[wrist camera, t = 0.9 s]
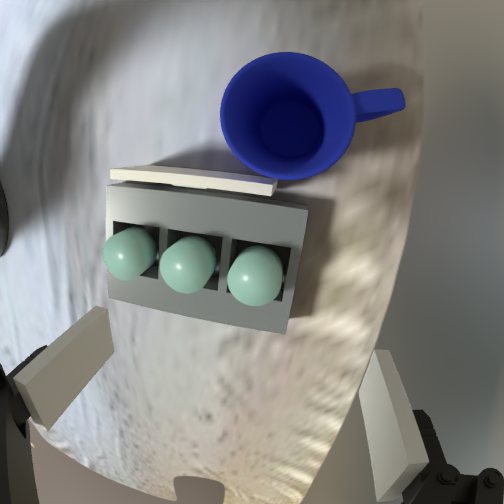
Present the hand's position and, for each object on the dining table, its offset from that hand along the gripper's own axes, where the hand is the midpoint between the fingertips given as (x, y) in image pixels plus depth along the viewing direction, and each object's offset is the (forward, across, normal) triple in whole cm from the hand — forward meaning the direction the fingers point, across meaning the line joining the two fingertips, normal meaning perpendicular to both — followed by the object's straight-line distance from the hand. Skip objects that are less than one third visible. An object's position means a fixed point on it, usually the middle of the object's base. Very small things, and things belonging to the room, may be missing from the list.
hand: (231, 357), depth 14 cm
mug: (+17, +3, +12) cm, 21 cm away
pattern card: (+17, -6, +7) cm, 19 cm away
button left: (+14, -12, 0) cm, 19 cm away
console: (+17, -6, -1) cm, 18 cm away
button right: (+14, 0, -1) cm, 15 cm away
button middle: (+14, -6, -1) cm, 16 cm away
